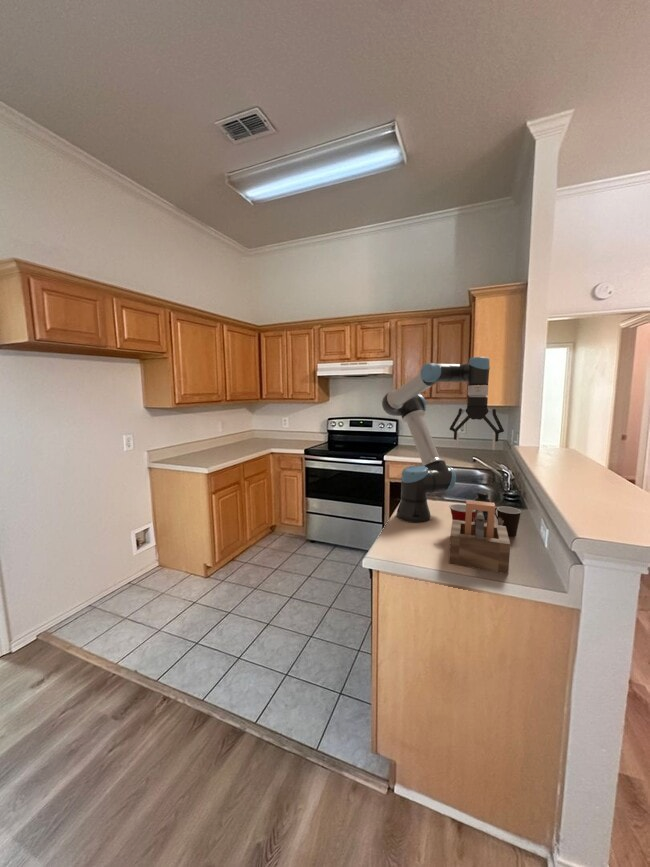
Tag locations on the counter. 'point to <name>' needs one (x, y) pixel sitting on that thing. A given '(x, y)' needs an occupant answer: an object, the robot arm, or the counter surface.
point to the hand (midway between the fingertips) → (475, 448)
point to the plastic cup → (460, 512)
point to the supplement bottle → (483, 500)
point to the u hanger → (482, 507)
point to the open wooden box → (479, 546)
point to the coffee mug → (508, 519)
